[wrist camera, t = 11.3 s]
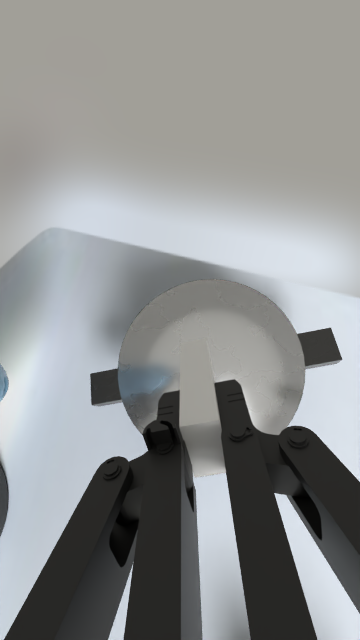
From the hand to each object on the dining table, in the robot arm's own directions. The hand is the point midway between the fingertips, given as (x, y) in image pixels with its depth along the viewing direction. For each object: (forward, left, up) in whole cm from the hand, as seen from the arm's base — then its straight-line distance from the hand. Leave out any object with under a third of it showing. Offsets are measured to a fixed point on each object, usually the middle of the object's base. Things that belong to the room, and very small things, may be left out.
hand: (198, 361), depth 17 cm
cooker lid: (0, +2, -10) cm, 10 cm away
